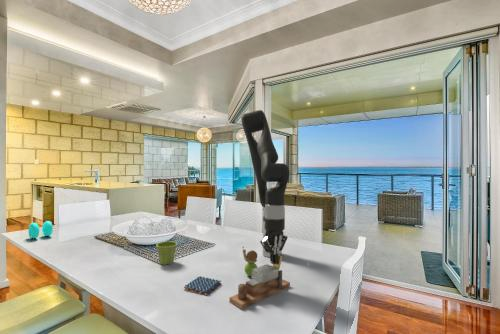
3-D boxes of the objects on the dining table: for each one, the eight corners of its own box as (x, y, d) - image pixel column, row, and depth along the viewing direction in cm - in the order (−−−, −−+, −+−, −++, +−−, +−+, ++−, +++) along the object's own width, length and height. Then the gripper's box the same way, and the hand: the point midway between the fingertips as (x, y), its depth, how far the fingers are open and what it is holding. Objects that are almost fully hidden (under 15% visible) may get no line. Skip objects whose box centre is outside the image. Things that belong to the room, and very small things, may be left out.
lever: (272, 271, 94) (276, 254, 96) (279, 274, 91) (283, 256, 93) (270, 270, 93) (274, 253, 95) (277, 274, 91) (281, 256, 92)
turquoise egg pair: (27, 238, 153) (28, 222, 154) (47, 235, 162) (48, 219, 162) (32, 241, 148) (33, 224, 148) (53, 237, 156) (53, 221, 156)
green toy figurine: (241, 273, 105) (242, 244, 105) (256, 272, 106) (257, 244, 106) (242, 278, 100) (242, 248, 100) (258, 278, 100) (258, 248, 101)
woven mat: (198, 280, 99) (198, 274, 99) (222, 285, 95) (222, 279, 95) (182, 291, 90) (182, 285, 90) (207, 297, 86) (207, 291, 86)
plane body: (277, 281, 98) (278, 263, 98) (289, 286, 94) (290, 267, 94) (229, 301, 82) (229, 280, 82) (241, 309, 77) (241, 286, 78)
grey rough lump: (267, 272, 94) (267, 264, 94) (278, 276, 90) (278, 268, 90) (251, 278, 88) (251, 269, 88) (262, 283, 84) (262, 274, 84)
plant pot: (151, 264, 113) (151, 245, 114) (165, 258, 122) (165, 240, 122) (167, 267, 110) (168, 248, 110) (181, 260, 119) (181, 242, 119)
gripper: (278, 213, 100) (278, 256, 99) (254, 217, 91) (254, 264, 91) (293, 216, 94) (293, 262, 94) (269, 220, 85) (269, 271, 85)
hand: (274, 263), depth 92 cm, fingers closed
